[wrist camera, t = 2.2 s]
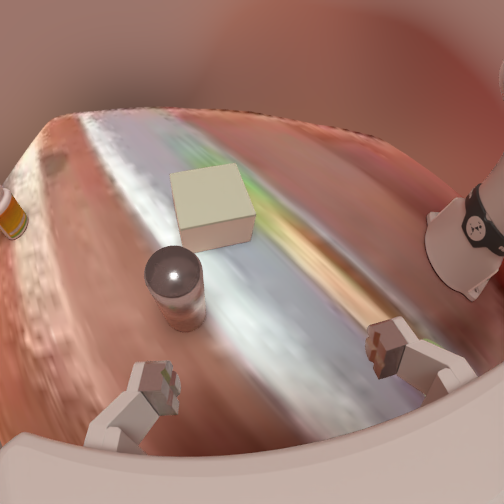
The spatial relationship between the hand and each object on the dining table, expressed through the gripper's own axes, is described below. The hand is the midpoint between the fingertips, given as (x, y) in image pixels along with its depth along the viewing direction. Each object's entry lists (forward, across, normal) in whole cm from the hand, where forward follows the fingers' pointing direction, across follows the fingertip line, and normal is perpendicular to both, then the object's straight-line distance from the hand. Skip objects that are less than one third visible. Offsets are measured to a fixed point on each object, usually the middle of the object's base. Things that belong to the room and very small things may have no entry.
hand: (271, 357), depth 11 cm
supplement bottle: (+28, +38, -3) cm, 47 cm away
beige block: (+30, +5, +4) cm, 30 cm away
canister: (+19, +9, +11) cm, 24 cm away
